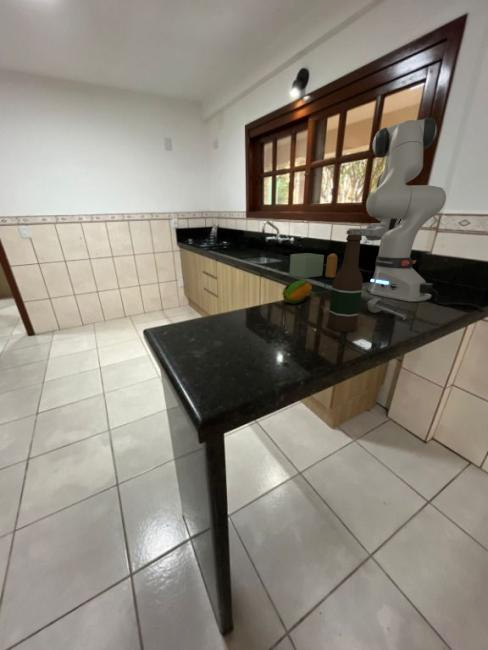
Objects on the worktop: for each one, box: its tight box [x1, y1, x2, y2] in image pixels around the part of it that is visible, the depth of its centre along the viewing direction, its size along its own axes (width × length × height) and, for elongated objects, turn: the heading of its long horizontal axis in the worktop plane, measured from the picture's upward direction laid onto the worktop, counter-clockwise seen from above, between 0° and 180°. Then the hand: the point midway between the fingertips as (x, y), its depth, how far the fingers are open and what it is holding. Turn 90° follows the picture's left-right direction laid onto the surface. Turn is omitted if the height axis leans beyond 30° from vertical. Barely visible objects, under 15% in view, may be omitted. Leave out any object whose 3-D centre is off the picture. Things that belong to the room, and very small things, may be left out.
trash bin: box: [289, 252, 325, 279], centre depth 142 cm, size 12×12×11 cm
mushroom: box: [366, 297, 408, 321], centre depth 81 cm, size 7×5×12 cm
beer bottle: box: [327, 234, 364, 333], centre depth 67 cm, size 8×8×24 cm
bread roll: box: [324, 253, 339, 278], centre depth 138 cm, size 5×5×12 cm
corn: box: [281, 279, 313, 305], centre depth 96 cm, size 7×8×20 cm
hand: (353, 232), depth 136 cm, fingers open, 8 cm apart
